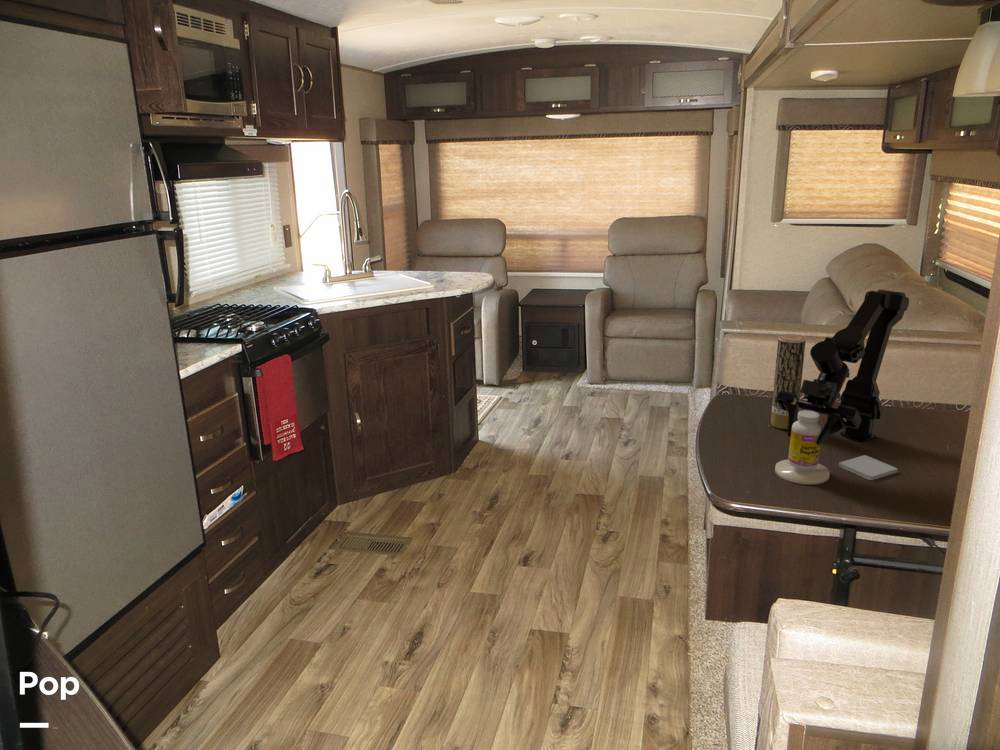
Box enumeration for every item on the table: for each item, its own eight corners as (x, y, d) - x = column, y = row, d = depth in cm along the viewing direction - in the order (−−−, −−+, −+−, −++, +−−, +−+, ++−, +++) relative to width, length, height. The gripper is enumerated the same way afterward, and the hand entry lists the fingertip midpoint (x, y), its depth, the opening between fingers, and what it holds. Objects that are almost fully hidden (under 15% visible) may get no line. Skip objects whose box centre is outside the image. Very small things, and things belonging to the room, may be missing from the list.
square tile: (864, 458, 186) (865, 454, 185) (897, 472, 178) (897, 468, 178) (838, 466, 182) (839, 462, 182) (870, 480, 174) (871, 476, 174)
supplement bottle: (795, 471, 175) (801, 420, 171) (782, 459, 181) (788, 409, 177) (823, 469, 176) (829, 418, 171) (809, 457, 182) (815, 407, 178)
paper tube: (774, 419, 212) (782, 333, 204) (799, 424, 208) (808, 336, 200) (767, 427, 207) (775, 338, 199) (792, 432, 203) (801, 342, 195)
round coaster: (800, 459, 187) (800, 455, 186) (840, 477, 176) (841, 473, 176) (763, 469, 182) (764, 465, 181) (803, 489, 171) (803, 485, 171)
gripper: (782, 358, 180) (755, 414, 177) (862, 374, 167) (834, 435, 163) (795, 381, 188) (769, 435, 184) (872, 398, 175) (846, 457, 171)
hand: (803, 440), depth 175 cm, fingers closed on supplement bottle, 7 cm apart
